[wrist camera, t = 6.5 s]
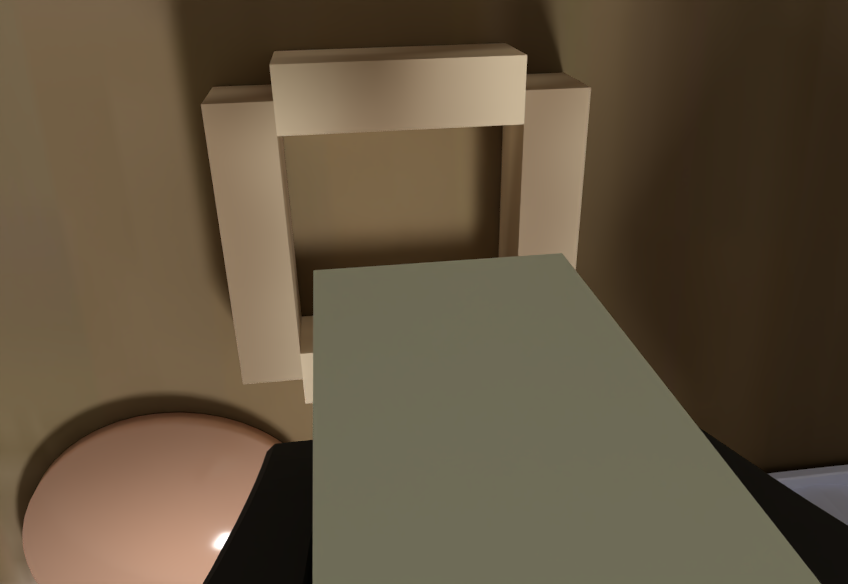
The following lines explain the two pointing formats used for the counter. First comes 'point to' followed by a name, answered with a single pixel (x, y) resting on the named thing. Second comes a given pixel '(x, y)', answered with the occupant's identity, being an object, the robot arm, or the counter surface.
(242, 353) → the oak holder
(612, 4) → the counter surface
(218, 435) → the terracotta coaster
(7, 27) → the counter surface
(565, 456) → the sage peg
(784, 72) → the counter surface
